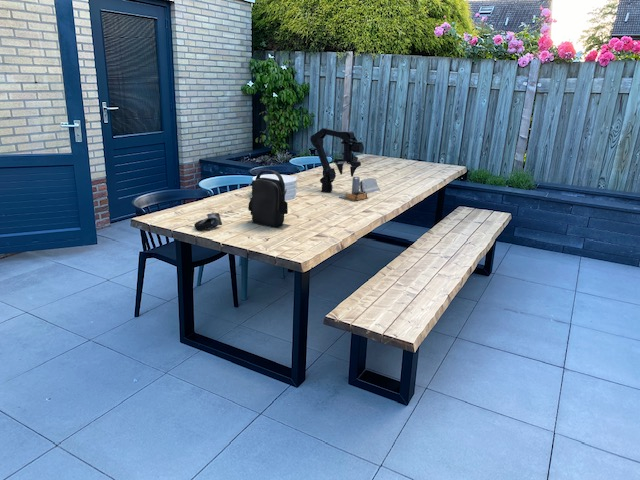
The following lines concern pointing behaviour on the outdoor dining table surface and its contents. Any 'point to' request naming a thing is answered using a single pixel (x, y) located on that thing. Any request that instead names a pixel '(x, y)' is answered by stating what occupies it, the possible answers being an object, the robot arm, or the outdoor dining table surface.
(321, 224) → the outdoor dining table surface
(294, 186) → the plate stack
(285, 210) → the black backpack
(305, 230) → the outdoor dining table surface
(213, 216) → the caster wheel
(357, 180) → the grey piece
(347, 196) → the keeper cradle
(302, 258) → the outdoor dining table surface
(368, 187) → the hinge
